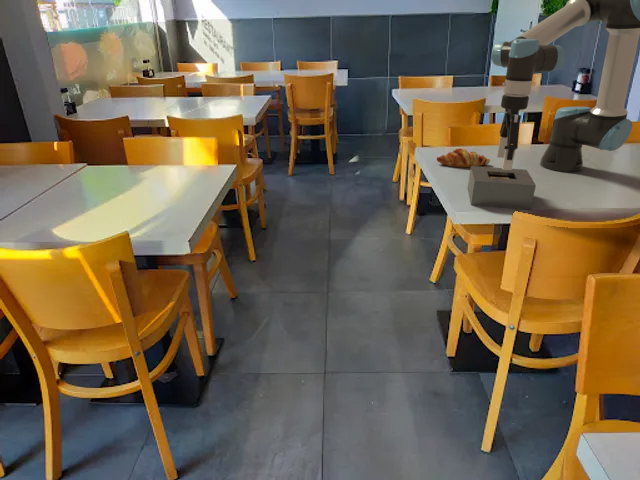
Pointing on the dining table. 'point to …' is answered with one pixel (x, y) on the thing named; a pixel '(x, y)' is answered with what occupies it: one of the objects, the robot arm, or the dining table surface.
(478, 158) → the croissant
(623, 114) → the robot arm
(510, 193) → the box
